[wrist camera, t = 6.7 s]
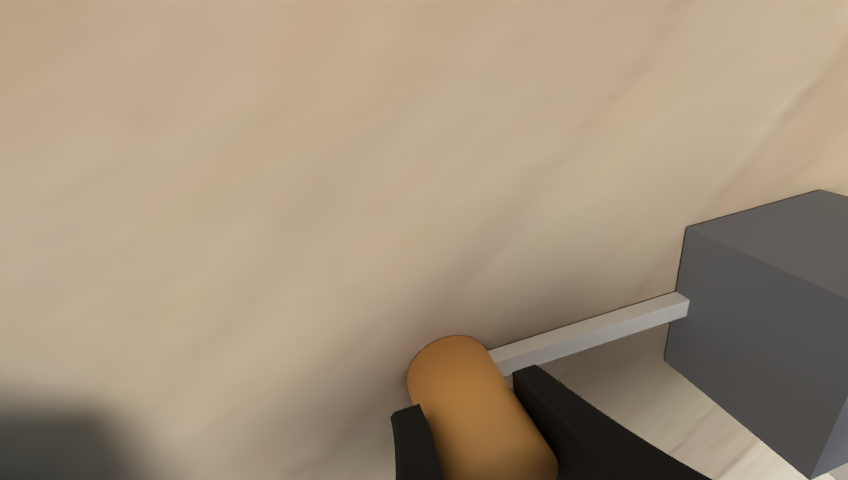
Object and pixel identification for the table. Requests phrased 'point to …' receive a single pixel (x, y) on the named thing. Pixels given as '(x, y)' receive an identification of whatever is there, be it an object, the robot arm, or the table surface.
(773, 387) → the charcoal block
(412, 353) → the table surface
